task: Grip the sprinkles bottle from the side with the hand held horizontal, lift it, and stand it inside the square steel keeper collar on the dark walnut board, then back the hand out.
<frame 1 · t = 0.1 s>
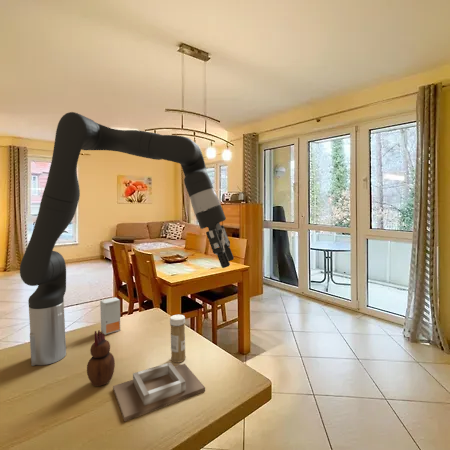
hand: (228, 263, 80), 31 cm above the table, tool tilted 20°, fingers open, 8 cm apart
sprinkles bottle: (178, 359, 90), on the table
wooden figurine: (101, 382, 79), on the table
skincare box: (111, 331, 110), on the table
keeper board: (158, 390, 75), on the table
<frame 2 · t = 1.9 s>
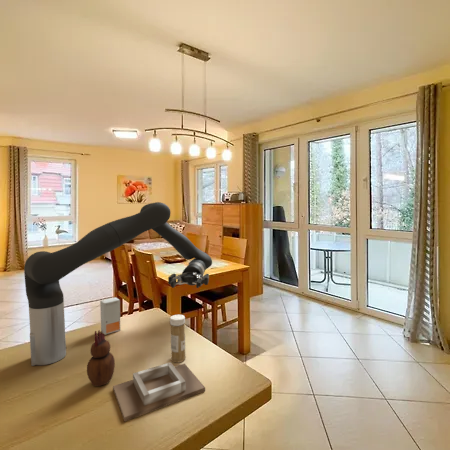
hand: (184, 284, 99), 20 cm above the table, tool horizontal, fingers open, 8 cm apart
nothing on the table moved.
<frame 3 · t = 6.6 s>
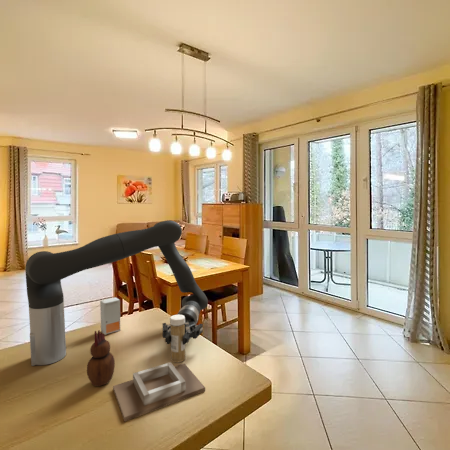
hand: (175, 341, 87), 7 cm above the table, tool horizontal, fingers closed on sprinkles bottle, 4 cm apart
sprinkles bottle: (178, 359, 90), on the table, touching gripper
everything else where it was.
when the fingers open (9 cm above the table, at t = 11.6 s): sprinkles bottle drops 1 cm, resting on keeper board.
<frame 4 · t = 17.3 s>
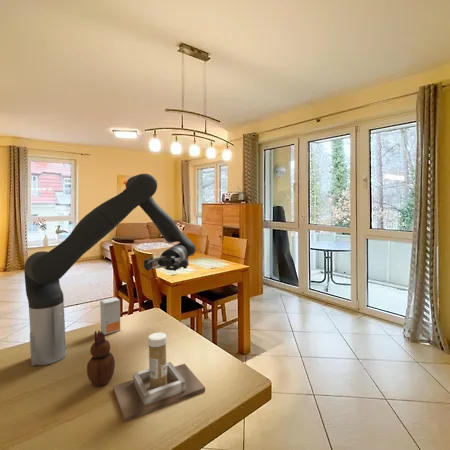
hand: (160, 267, 91), 28 cm above the table, tool horizontal, fingers open, 8 cm apart
sprinkles bottle: (158, 386, 75), point 1 cm above the table, touching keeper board
everything else where it was.
at the end: sprinkles bottle 0.2 cm off-centre on the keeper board, point 0.8 cm above the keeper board's base; sprinkles bottle tilted 0°; the gripper is holding nothing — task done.
